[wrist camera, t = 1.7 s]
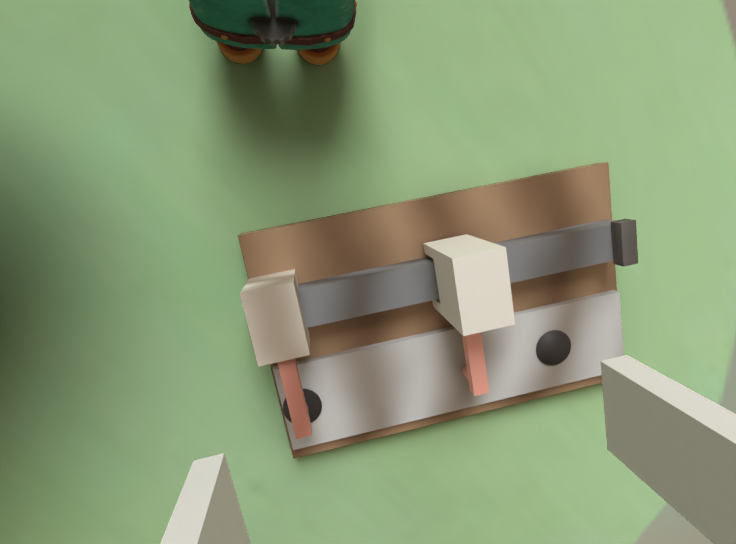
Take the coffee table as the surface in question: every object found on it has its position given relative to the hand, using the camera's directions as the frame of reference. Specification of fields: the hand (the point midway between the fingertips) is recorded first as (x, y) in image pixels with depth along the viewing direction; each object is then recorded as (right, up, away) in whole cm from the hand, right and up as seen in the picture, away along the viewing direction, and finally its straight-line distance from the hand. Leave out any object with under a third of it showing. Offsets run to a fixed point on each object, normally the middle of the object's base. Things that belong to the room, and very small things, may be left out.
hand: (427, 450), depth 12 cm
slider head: (+4, +2, +19) cm, 20 cm away
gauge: (+4, +2, +20) cm, 21 cm away
